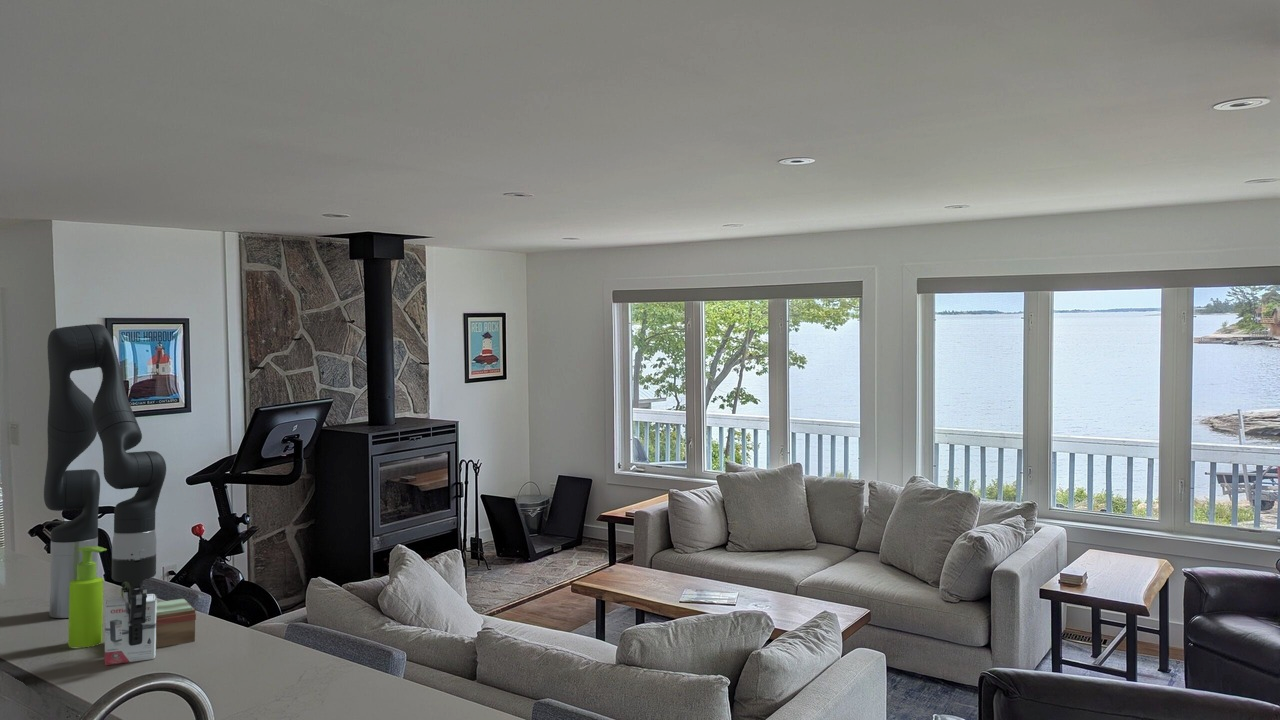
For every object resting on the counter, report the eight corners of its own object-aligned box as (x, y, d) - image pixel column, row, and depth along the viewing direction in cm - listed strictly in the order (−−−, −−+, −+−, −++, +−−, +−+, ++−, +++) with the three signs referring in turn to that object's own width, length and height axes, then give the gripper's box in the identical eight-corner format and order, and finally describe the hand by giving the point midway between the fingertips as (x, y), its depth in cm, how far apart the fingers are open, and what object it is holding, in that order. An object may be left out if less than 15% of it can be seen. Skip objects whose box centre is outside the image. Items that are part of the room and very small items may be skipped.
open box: (121, 640, 180) (122, 606, 180) (185, 629, 187) (185, 597, 188) (129, 653, 172) (129, 617, 172) (195, 641, 179) (195, 608, 179)
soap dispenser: (90, 649, 174) (91, 550, 174) (61, 647, 175) (63, 548, 175) (113, 641, 179) (114, 544, 180) (85, 638, 181) (86, 543, 181)
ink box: (103, 666, 164) (104, 604, 164) (105, 658, 168) (106, 597, 168) (155, 659, 168) (156, 598, 168) (156, 651, 172) (157, 592, 172)
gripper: (107, 550, 172) (106, 635, 172) (117, 562, 161) (115, 653, 160) (150, 546, 177) (148, 629, 176) (162, 557, 165) (161, 646, 165)
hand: (133, 640), depth 168 cm, fingers closed on ink box, 5 cm apart
